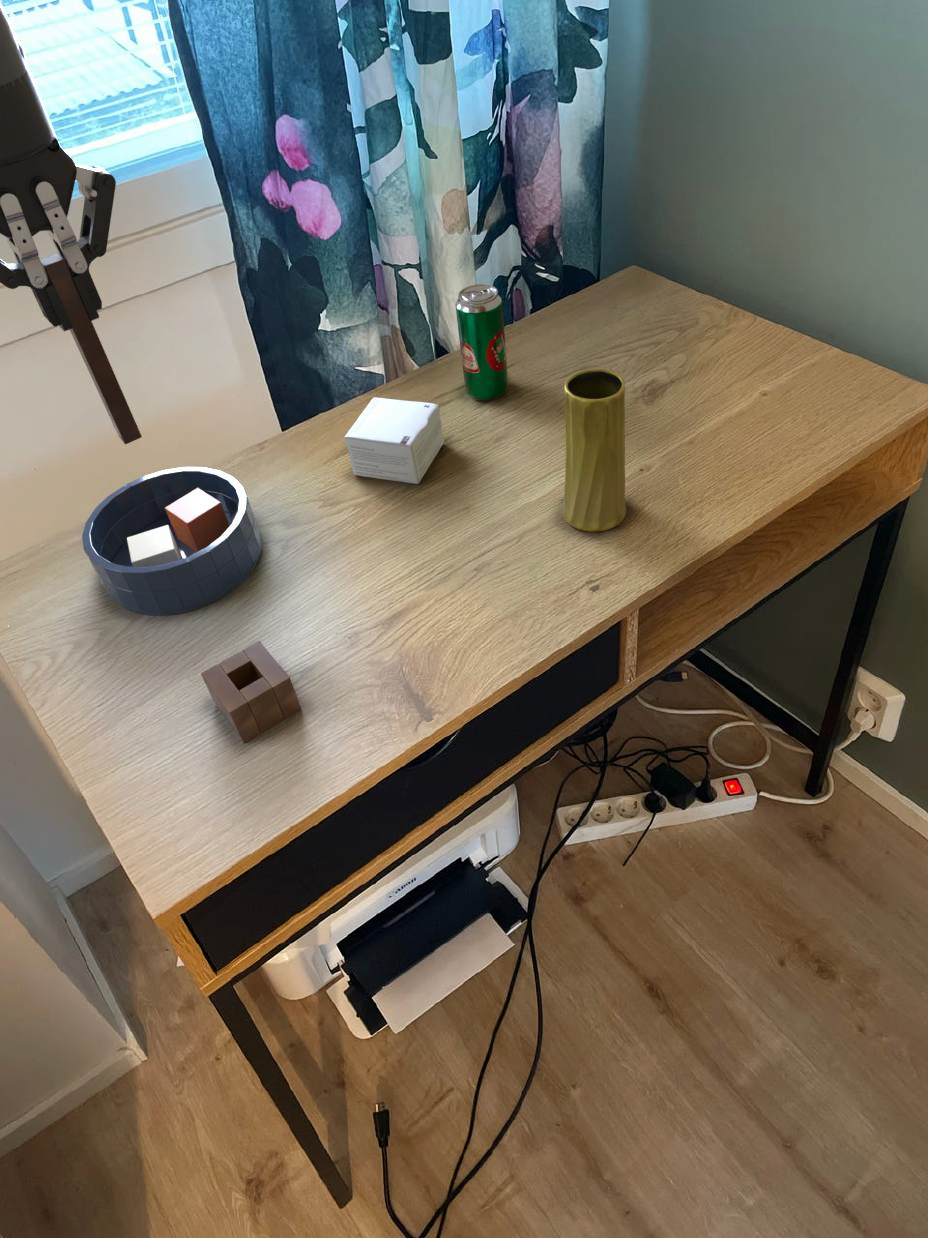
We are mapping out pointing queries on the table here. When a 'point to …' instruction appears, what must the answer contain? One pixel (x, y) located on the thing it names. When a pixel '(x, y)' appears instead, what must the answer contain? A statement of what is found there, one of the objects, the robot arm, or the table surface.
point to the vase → (595, 450)
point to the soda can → (482, 341)
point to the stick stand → (251, 691)
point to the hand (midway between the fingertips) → (78, 320)
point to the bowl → (197, 572)
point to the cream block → (153, 548)
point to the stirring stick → (91, 349)
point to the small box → (395, 440)
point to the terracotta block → (197, 519)
